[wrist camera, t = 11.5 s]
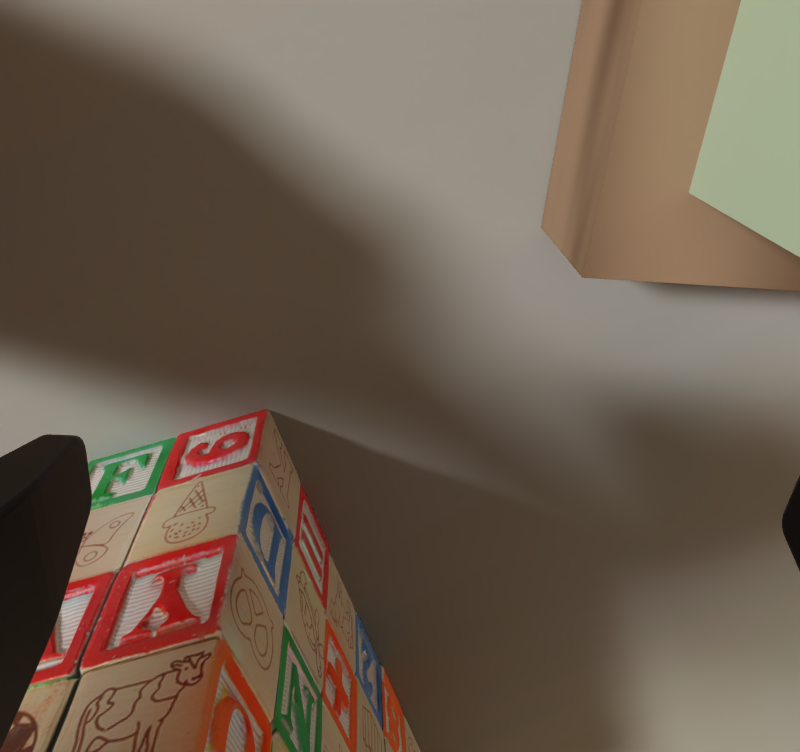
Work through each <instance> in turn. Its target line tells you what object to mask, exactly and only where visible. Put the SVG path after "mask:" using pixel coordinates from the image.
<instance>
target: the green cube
mask: <svg viewBox="0 0 800 752" xmlns="http://www.w3.org/2000/svg"><path fill="white" fill-rule="evenodd" d="M689 193H690V194H691V195H693V196H695V197H697V198H698V199H700V200H702V201H704V202H705V203H707V204H709V205H710V206H712V207H714V208H716V209H717V210H719V211H721V212H722V213H724V214H726V215H728V216H729V217H731V218H733V219H735V220H736V221H738V222H740V223H741V224H743V225H745V226H747V227H748V228H750V229H752V230H753V231H755V232H757V233H759V234H760V235H762V236H764V237H766V238H767V239H769V240H771V241H772V242H774V243H776V244H778V245H779V246H781V247H783V248H784V249H786V250H788V251H790V252H791V253H793V254H795V255H797V256H798V257H800V0H741V3H740V6H739V10H738V14H737V17H736V21H735V25H734V28H733V32H732V36H731V39H730V43H729V47H728V50H727V54H726V58H725V61H724V65H723V69H722V72H721V76H720V80H719V83H718V87H717V91H716V94H715V98H714V102H713V105H712V109H711V113H710V116H709V120H708V124H707V127H706V131H705V135H704V138H703V142H702V146H701V149H700V153H699V157H698V160H697V164H696V168H695V171H694V175H693V179H692V182H691V186H690V190H689Z"/></svg>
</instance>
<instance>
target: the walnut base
mask: <svg viewBox="0 0 800 752" xmlns="http://www.w3.org/2000/svg"><path fill="white" fill-rule="evenodd" d="M740 3H741V0H582V6H581V11H580V17H579V22H578V28H577V33H576V39H575V44H574V50H573V55H572V61H571V66H570V72H569V77H568V83H567V88H566V94H565V99H564V105H563V110H562V116H561V121H560V127H559V132H558V138H557V143H556V149H555V154H554V160H553V165H552V171H551V176H550V182H549V187H548V193H547V198H546V204H545V209H544V215H543V220H542V226H541V228H542V229H543V230H544V232H545V233H546V234H547V235H548V236H549V238H550V239H551V240H552V241H553V243H554V244H555V245H556V246H557V247H558V249H559V250H560V251H561V252H562V253H563V255H564V256H565V257H566V258H567V259H568V261H569V262H570V263H571V264H572V266H573V267H574V268H575V269H576V270H577V272H578V273H579V274H580V275H581V276H582V277H583V278H599V279H615V280H631V281H647V282H663V283H679V284H695V285H711V286H727V287H743V288H759V289H775V290H791V291H800V257H798V256H797V255H795V254H793V253H791V252H790V251H788V250H786V249H784V248H783V247H781V246H779V245H778V244H776V243H774V242H772V241H771V240H769V239H767V238H766V237H764V236H762V235H760V234H759V233H757V232H755V231H753V230H752V229H750V228H748V227H747V226H745V225H743V224H741V223H740V222H738V221H736V220H735V219H733V218H731V217H729V216H728V215H726V214H724V213H722V212H721V211H719V210H717V209H716V208H714V207H712V206H710V205H709V204H707V203H705V202H704V201H702V200H700V199H698V198H697V197H695V196H693V195H691V194H690V193H689V190H690V186H691V182H692V179H693V175H694V171H695V168H696V164H697V160H698V157H699V153H700V149H701V146H702V142H703V138H704V135H705V131H706V127H707V124H708V120H709V116H710V113H711V109H712V105H713V102H714V98H715V94H716V91H717V87H718V83H719V80H720V76H721V72H722V69H723V65H724V61H725V58H726V54H727V50H728V47H729V43H730V39H731V36H732V32H733V28H734V25H735V21H736V17H737V14H738V10H739V6H740Z"/></svg>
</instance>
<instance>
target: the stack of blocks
mask: <svg viewBox="0 0 800 752" xmlns="http://www.w3.org/2000/svg"><path fill="white" fill-rule="evenodd" d="M88 469H89V476H90V483H91V490H92V505H91V511H90V515H89V518H88V521H87V525H86V528H85V531H84V534H83V538H82V541H81V544H80V548H79V551H78V554H77V557H76V561H75V564H74V567H73V570H72V574H71V577H70V580H69V584H68V587H67V590H66V593H65V597H64V600H63V603H62V606H61V610H60V613H59V616H58V619H57V622H56V624H55V627H54V630H53V632H52V635H51V637H50V639H49V642H48V644H47V647H46V649H45V651H44V653H43V656H42V658H41V660H40V662H39V665H38V667H37V669H36V672H35V674H34V676H33V678H32V681H31V683H30V685H29V687H28V690H27V692H26V694H25V696H24V699H23V701H22V703H21V705H20V708H19V710H18V712H17V715H16V717H15V719H14V721H13V724H12V726H11V728H10V730H9V733H8V735H7V737H6V739H5V742H4V744H3V746H2V748H1V751H0V752H421V751H420V749H419V746H418V744H417V742H416V740H415V738H414V735H413V733H412V731H411V729H410V727H409V724H408V722H407V720H406V718H405V716H404V715H403V712H402V708H401V706H400V703H399V701H398V699H397V697H396V695H395V692H394V690H393V688H392V685H391V683H390V681H389V679H388V676H387V674H386V672H385V669H384V667H383V666H381V665H379V662H378V659H377V656H376V654H375V652H374V650H373V648H372V646H371V643H370V641H369V639H368V636H367V634H366V632H365V630H364V627H363V625H362V623H361V621H360V618H359V616H358V614H357V613H356V612H355V610H354V607H353V604H352V602H351V600H350V597H349V595H348V593H347V591H346V589H345V586H344V584H343V582H342V580H341V578H340V575H339V573H338V571H337V569H336V567H335V564H334V562H333V560H332V558H331V556H330V554H329V552H330V550H329V546H328V544H327V542H326V539H325V537H324V534H323V532H322V530H321V528H320V526H319V523H318V521H317V519H316V517H315V514H314V512H313V510H312V507H311V505H310V503H309V501H308V498H307V496H306V494H305V492H304V490H303V487H302V485H301V483H300V480H299V476H298V474H297V472H296V469H295V467H294V465H293V463H292V460H291V458H290V456H289V453H288V451H287V449H286V447H285V444H284V442H283V440H282V437H281V435H280V433H279V431H278V428H277V426H276V424H275V422H274V419H273V417H272V415H271V413H270V412H269V411H268V410H262V411H259V412H255V413H252V414H248V415H245V416H241V417H238V418H234V419H231V420H228V421H224V422H221V423H217V424H214V425H211V426H207V427H204V428H200V429H197V430H194V431H191V432H187V433H183V434H181V435H179V436H177V437H174V438H171V439H168V440H164V441H161V442H157V443H154V444H150V445H147V446H143V447H140V448H136V449H133V450H129V451H126V452H122V453H119V454H115V455H112V456H108V457H105V458H101V459H97V460H93V461H91V462H89V463H88Z"/></svg>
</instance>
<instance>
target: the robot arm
mask: <svg viewBox="0 0 800 752" xmlns="http://www.w3.org/2000/svg"><path fill="white" fill-rule="evenodd" d="M91 505H92V490H91V483H90V476H89V469H88V462H87V454H86V448H85V445H84V442H83V440H82V439H81V438H80V437H78V436H73V435H43V436H41V437H39V438H37V439H35V440H33V441H31V442H29V443H27V444H25V445H23V446H21V447H19V448H17V449H16V450H14V451H12V452H10V453H8V454H6V455H4V456H2V457H0V751H1V748H2V746H3V744H4V742H5V739H6V737H7V735H8V733H9V730H10V728H11V726H12V724H13V721H14V719H15V717H16V715H17V712H18V710H19V708H20V705H21V703H22V701H23V699H24V696H25V694H26V692H27V690H28V687H29V685H30V683H31V681H32V678H33V676H34V674H35V672H36V669H37V667H38V665H39V662H40V660H41V658H42V656H43V653H44V651H45V649H46V647H47V644H48V642H49V639H50V637H51V635H52V632H53V630H54V627H55V624H56V622H57V619H58V616H59V613H60V610H61V606H62V603H63V600H64V597H65V593H66V590H67V587H68V584H69V580H70V577H71V574H72V570H73V567H74V564H75V561H76V557H77V554H78V551H79V548H80V544H81V541H82V538H83V534H84V531H85V528H86V525H87V521H88V518H89V515H90V511H91ZM782 528H783V533H784V536H785V538H786V541H787V543H788V545H789V548H790V550H791V552H792V554H793V557H794V559H795V561H796V564H797V566H798V568H799V571H800V476H799V478H798V480H797V483H796V485H795V487H794V490H793V492H792V494H791V497H790V499H789V502H788V504H787V506H786V509H785V511H784V514H783V518H782Z"/></svg>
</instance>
